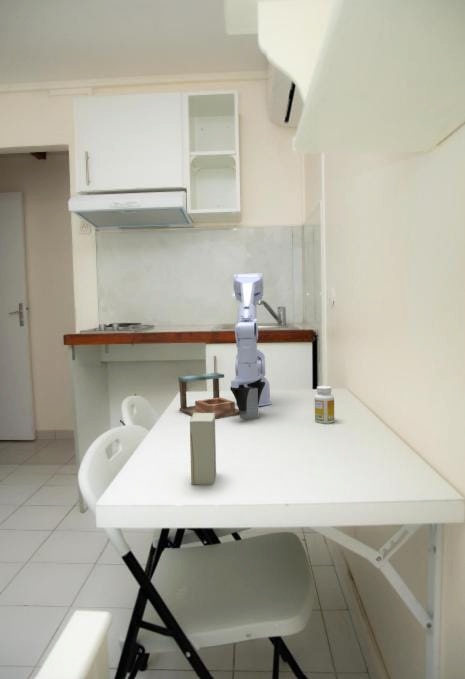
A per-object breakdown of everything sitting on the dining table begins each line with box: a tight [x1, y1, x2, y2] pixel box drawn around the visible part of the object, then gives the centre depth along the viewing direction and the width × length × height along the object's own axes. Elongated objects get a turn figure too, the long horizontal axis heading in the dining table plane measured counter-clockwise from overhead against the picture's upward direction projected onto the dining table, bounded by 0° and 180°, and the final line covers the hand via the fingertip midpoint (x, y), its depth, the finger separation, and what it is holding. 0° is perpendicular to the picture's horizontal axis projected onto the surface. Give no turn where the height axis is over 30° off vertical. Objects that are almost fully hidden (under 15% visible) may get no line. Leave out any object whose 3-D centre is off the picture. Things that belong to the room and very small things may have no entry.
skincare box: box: [189, 413, 217, 485], centre depth 83 cm, size 6×4×12 cm
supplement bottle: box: [314, 385, 335, 424], centre depth 123 cm, size 5×5×10 cm
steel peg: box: [239, 386, 259, 421], centre depth 129 cm, size 4×4×9 cm
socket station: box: [178, 372, 240, 420], centre depth 137 cm, size 14×16×11 cm
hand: (248, 408), depth 129 cm, fingers open, 6 cm apart
